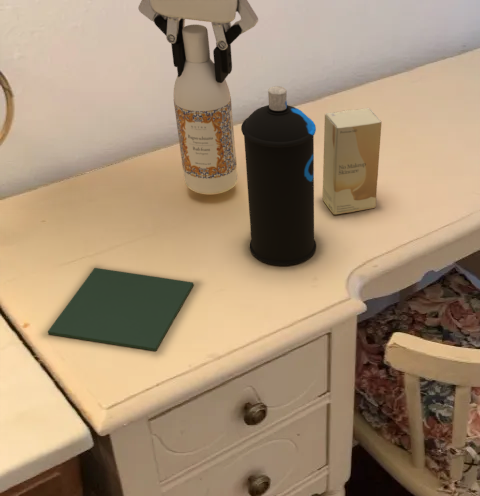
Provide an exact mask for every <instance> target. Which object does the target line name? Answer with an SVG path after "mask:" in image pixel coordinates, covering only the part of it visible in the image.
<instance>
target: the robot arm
mask: <svg viewBox="0 0 480 496" xmlns="http://www.w3.org/2000/svg"><path fill="white" fill-rule="evenodd" d="M138 11H139V13H140V14H142V15H143V16H144V17H146V18H147V19H148V20H150V21H151V22H152V23H154V25H155V26H156V27H157V28H158V29H159V30H160V31H161V32H162V34H164V36H165V37H166V41H167V42H168V43H169V44H171V55H172V62H173V67H174V68H176V71H177V75H178V77H180V76H181V75H182V72H183V70H184V64H185V60H186V57H185V51H184V42H183V34H182V29H183V28H184V27H185V26H186V20H191V21H198V22H206V23H207V22H208V23H211V26H212V30H213V34H214V38H215V48H214V49H213V51H212V53H213V55H212V56H213V63H214V67H215V79H216V81H217V82H218V83H222V82H223V81H224V80H226V78H228V75H230V74H231V73H232V71H233V61H232V43H234V41H235V40H237V38H238V37H240V35H242V34H243V33H246V32H247V31H249V30H251V29H253V28H254V27H255V26H257V24H258V22H259V17H258V15H257V14H256V12H255V10H254V9H253V8H252V6H251V4H250V2H249V1H248V0H141V1H140V2H139V5H138ZM237 13H238V15H239V16H240V19H239V20H237V21H235V22H234V23H233V24H232V22H233V21H234V20H236V15H237Z"/></svg>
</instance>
